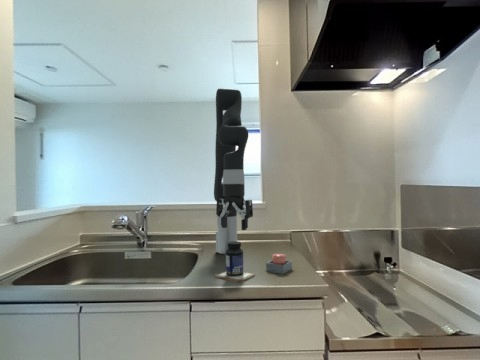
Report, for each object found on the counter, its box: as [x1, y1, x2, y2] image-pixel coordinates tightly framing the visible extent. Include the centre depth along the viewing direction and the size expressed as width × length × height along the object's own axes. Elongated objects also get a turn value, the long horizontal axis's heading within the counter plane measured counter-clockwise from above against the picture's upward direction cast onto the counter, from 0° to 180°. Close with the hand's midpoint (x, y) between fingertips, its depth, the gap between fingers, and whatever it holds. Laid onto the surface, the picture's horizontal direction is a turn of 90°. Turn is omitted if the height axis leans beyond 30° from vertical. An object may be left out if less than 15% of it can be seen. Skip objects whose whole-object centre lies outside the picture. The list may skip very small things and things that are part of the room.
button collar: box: [265, 259, 293, 275], centre depth 110 cm, size 7×7×3 cm
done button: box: [271, 253, 287, 265], centre depth 110 cm, size 5×5×4 cm
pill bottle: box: [225, 240, 244, 276], centre depth 103 cm, size 6×6×11 cm
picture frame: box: [214, 270, 256, 284], centre depth 103 cm, size 11×9×1 cm
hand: (234, 228), depth 103 cm, fingers open, 8 cm apart
